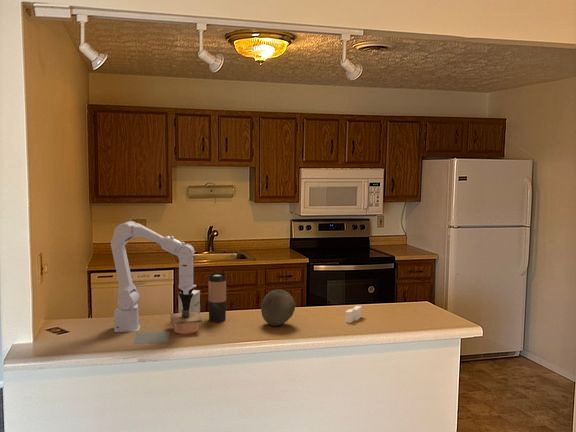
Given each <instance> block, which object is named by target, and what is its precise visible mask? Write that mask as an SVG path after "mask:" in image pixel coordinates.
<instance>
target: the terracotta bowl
mask: <svg viewBox="0 0 576 432" xmlns="http://www.w3.org/2000/svg"><path fill="white" fill-rule="evenodd" d="M173 331H174V333H177V334H182V335H185V334H186V335H187V334H188V335H189V334H194V333H196V332H198V331H200V322H199V323H182V324H173Z"/></svg>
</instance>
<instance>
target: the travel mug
mask: <svg viewBox="0 0 576 432" xmlns="http://www.w3.org/2000/svg"><path fill="white" fill-rule="evenodd" d="M226 314H227V273H224V272H213V273H212V272H211V273H209V274H208V319H209V322H214V323H222V322H225V320H226V316H227V315H226Z"/></svg>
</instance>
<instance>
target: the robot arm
mask: <svg viewBox="0 0 576 432" xmlns="http://www.w3.org/2000/svg"><path fill="white" fill-rule="evenodd" d="M138 237H142V238H145V239H147V240H150V241H151V242H154V243H156V244H158V245H159V246H160V247H161V249H162V250H164V251H166V252H168V253H170V254H172V255H173V256H177V258H178V289H179V291H180V292H181V293H180V292H179V293H178V294H179V296H180V298H181V301H182V306H183V310H184V311H189V308H190V302H191V298H192V296H193V293H192V291H193V290H194V288H197V284H194V255H195V248H194V246H193V245H191V243H186V242H184V241H180V240H178V239H176V238H175V236H173V235H171V236H169V235H166V236H163V235H161V234H159V233H158V232H156V231H154V230H152V229H150V228H148V227H146V226H145V225H143V224H141V223H139V222H136V221H133V220H128V221H126V222H123V223H119V224H118V225H117V226H116V227H115V228H114V230H113V235H112V237H111V238H112V239H111V240H110V247H111V252H112V257H113V262H114V266H115V271H116V276H117V281H118V285H119V287H118V292H117V294H118V295H117V296H118V298H117V306H118V307H119V308H118V307H117V308H115V309H114V312H113V322H114V323H113V325H114V326H113V327H114V328H113V329H114V333H119V332H121V333H122V332H125V333H126V332H138V331H140V328H141V324H139V305H138V303H139V302H140V299H141V295H140V292H138V290H137V287H136V284H134V283H133V278H132V273H131V268H130V263H129V259H128V254H127V250H126V245H127V244H128V242H129V241H130V240H131V239H132V238H138Z"/></svg>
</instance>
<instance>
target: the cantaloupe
mask: <svg viewBox="0 0 576 432" xmlns="http://www.w3.org/2000/svg"><path fill="white" fill-rule="evenodd" d="M295 309H296V302H295V299H294V297H293V296H292V295H291V294H290V293H289V292H288V291H286V290H284V289H273V290H271V291H268V293H266V295H265V296H264V297H263V300H262V302H261V305H260V312H261V316H262V318H263V320H264V321H265V322H266V323H267V324H268V325H270V326H274V327H276V326H281V325H283V324H286V323H287V322H288V321H289V320H290V319H291V318H292V316H293V315H294V313H295Z"/></svg>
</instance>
